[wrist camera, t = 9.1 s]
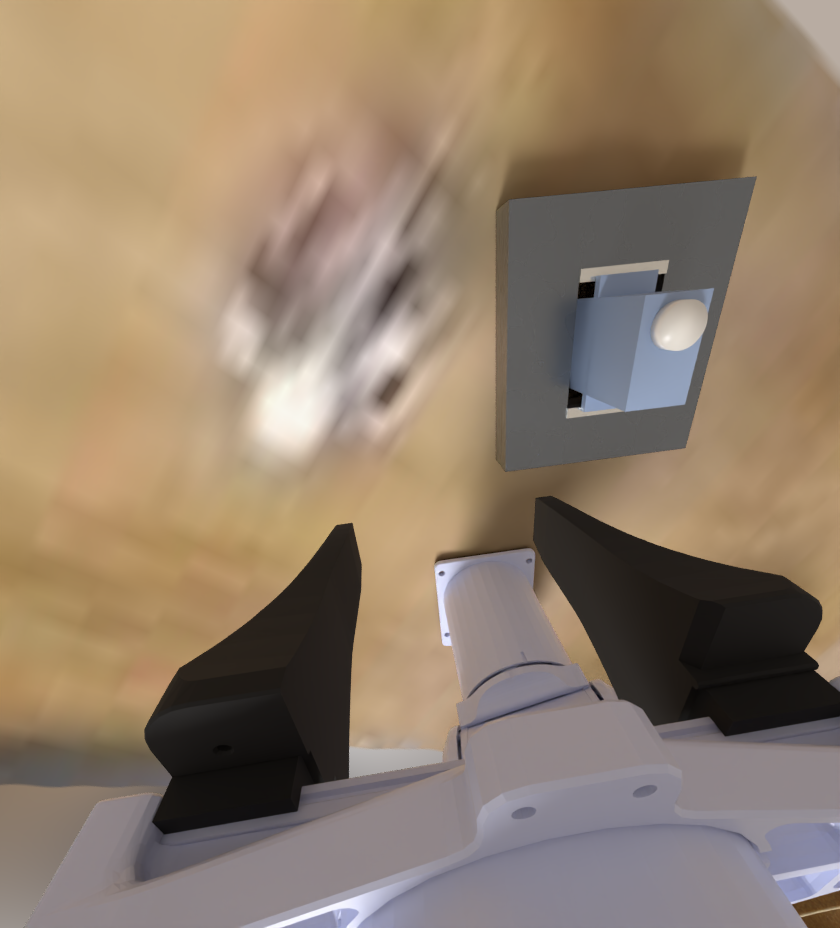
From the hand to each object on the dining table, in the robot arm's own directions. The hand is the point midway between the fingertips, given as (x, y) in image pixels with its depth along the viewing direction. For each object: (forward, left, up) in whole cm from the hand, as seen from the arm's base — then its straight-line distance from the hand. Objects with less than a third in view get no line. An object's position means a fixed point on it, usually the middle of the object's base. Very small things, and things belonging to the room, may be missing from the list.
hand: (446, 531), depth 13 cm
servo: (+5, -11, -10) cm, 16 cm away
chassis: (+5, -11, -10) cm, 16 cm away
